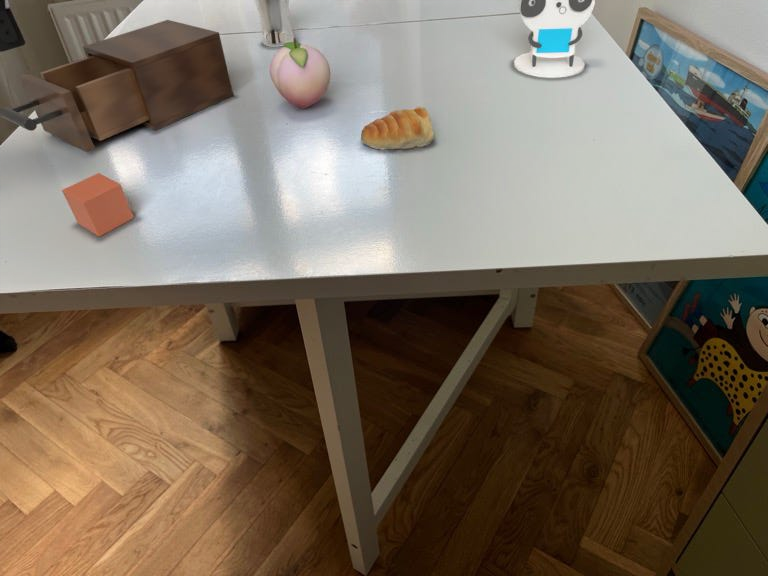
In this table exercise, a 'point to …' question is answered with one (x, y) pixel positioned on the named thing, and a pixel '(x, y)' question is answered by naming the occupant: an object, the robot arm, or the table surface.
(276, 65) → the decorative fruit
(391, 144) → the pastry
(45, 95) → the drawer
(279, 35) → the beer glass
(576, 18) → the panda figurine
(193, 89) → the cabinet
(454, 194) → the table surface
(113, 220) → the block
